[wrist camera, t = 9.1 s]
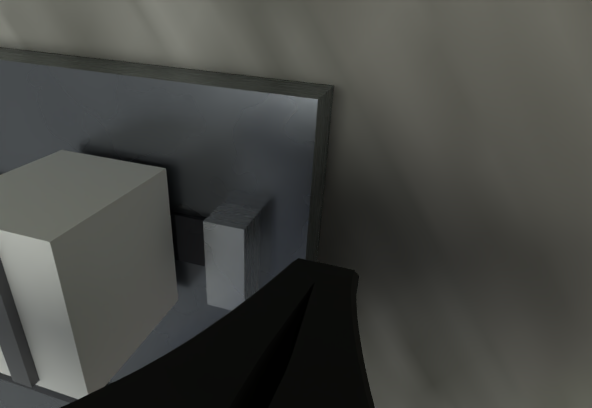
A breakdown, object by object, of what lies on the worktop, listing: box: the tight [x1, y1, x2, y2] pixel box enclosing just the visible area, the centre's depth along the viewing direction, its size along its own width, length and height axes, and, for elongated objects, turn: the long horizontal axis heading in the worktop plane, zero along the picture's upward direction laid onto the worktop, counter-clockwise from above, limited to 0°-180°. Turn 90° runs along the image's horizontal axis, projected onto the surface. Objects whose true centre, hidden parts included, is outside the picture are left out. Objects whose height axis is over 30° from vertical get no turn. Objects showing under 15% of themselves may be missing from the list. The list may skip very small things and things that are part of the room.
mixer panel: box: [0, 48, 333, 408], centre depth 15 cm, size 16×20×2 cm
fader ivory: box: [0, 150, 178, 399], centre depth 10 cm, size 4×3×4 cm
